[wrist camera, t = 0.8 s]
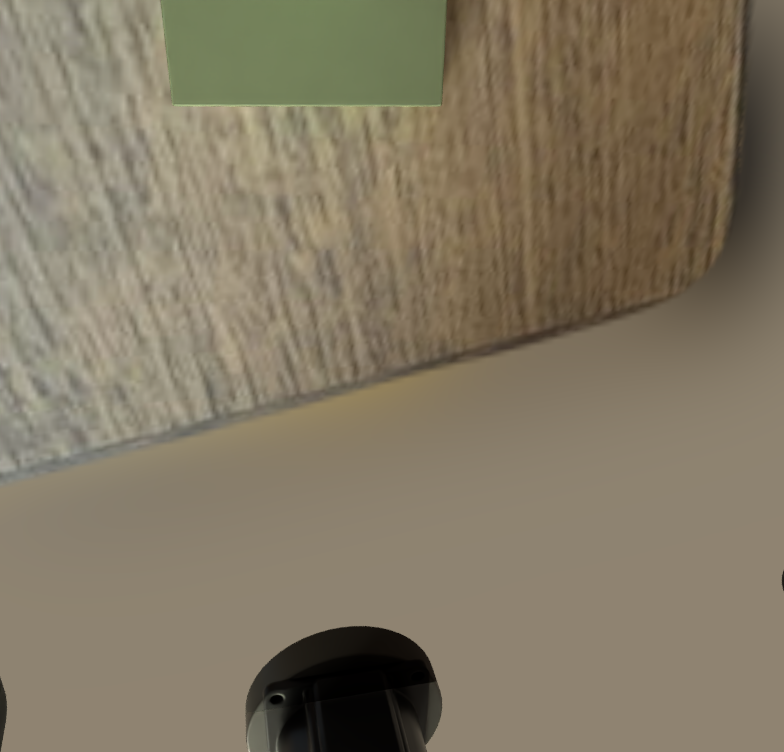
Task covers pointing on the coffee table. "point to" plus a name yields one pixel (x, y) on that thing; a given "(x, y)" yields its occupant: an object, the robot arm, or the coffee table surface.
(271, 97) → the green stepped block
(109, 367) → the coffee table surface
